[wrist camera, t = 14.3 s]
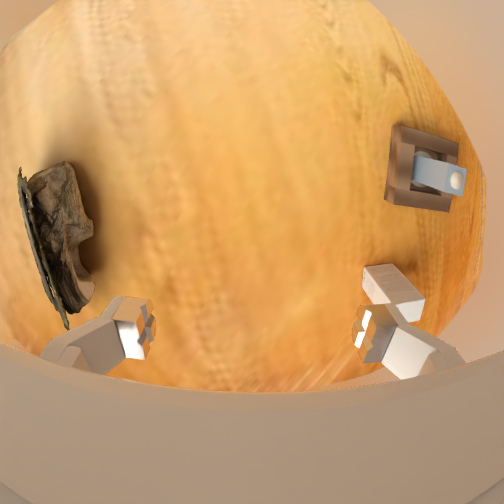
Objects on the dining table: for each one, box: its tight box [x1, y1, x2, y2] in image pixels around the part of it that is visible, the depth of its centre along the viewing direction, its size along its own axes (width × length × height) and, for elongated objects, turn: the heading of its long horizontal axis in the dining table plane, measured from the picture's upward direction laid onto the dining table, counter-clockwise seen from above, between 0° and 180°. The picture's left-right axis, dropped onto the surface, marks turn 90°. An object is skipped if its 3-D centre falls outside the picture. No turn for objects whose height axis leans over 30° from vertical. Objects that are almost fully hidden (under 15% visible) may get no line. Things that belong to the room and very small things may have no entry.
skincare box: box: [362, 263, 426, 323], centre depth 40 cm, size 6×4×12 cm
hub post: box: [411, 155, 467, 197], centre depth 32 cm, size 4×4×9 cm
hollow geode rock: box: [18, 161, 95, 330], centre depth 36 cm, size 28×13×15 cm
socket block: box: [384, 126, 459, 212], centre depth 36 cm, size 12×12×4 cm
